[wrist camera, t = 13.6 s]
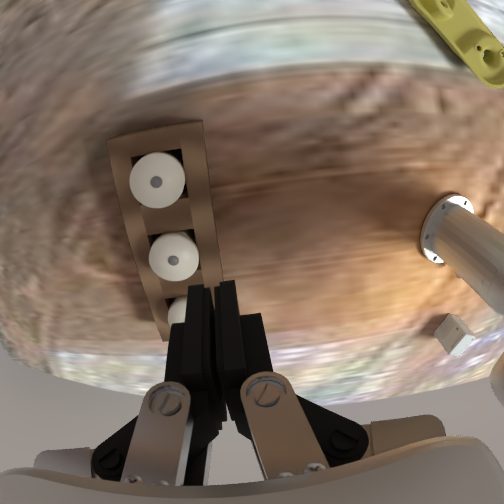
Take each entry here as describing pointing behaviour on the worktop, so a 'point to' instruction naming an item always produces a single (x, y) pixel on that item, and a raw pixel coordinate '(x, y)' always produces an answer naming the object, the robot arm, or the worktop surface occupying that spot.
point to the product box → (454, 335)
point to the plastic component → (466, 37)
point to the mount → (168, 211)
